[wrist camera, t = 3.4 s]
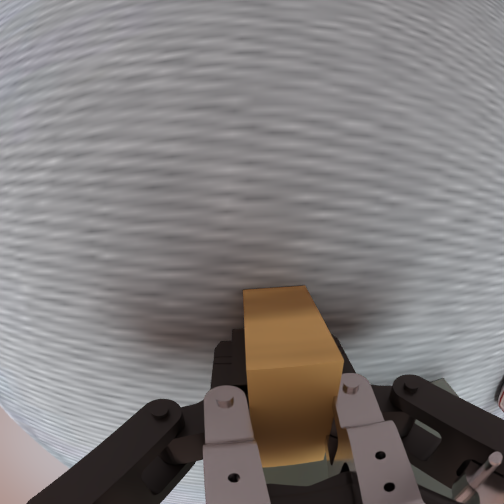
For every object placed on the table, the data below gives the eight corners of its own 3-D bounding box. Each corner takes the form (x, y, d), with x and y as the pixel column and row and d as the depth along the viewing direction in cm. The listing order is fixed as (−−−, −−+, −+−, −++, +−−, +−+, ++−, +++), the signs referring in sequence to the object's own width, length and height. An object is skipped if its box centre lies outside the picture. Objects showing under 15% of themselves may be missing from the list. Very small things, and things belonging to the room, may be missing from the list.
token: (242, 289, 12) (246, 370, 7) (305, 285, 12) (344, 360, 7) (249, 383, 13) (254, 468, 8) (300, 378, 13) (323, 460, 8)
